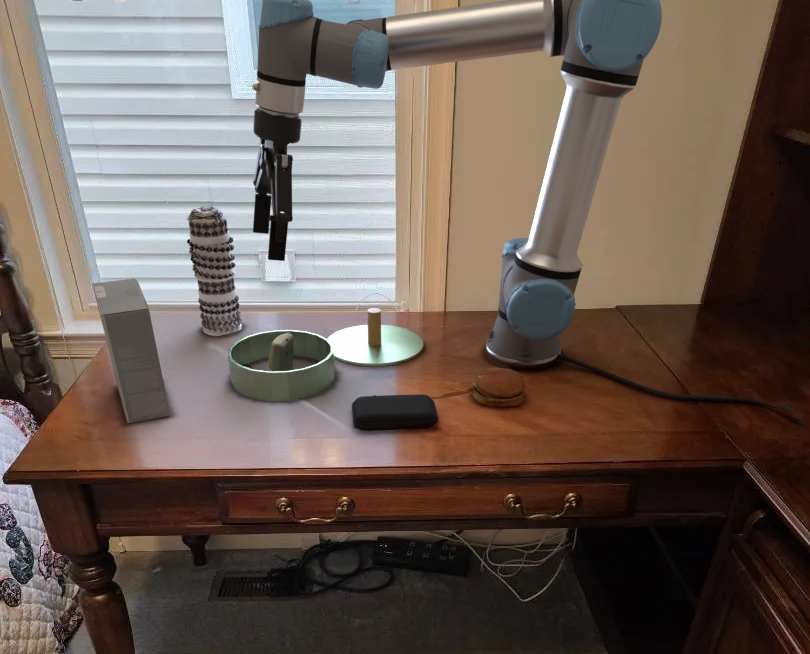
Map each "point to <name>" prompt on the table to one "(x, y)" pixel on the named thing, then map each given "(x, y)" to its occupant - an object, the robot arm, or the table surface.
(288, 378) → the pot
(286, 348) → the beige rounded block
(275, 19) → the robot arm
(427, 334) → the table surface
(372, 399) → the carrying case
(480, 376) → the burger
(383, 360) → the pot lid
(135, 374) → the hard drive box
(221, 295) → the white patterned cylinder
